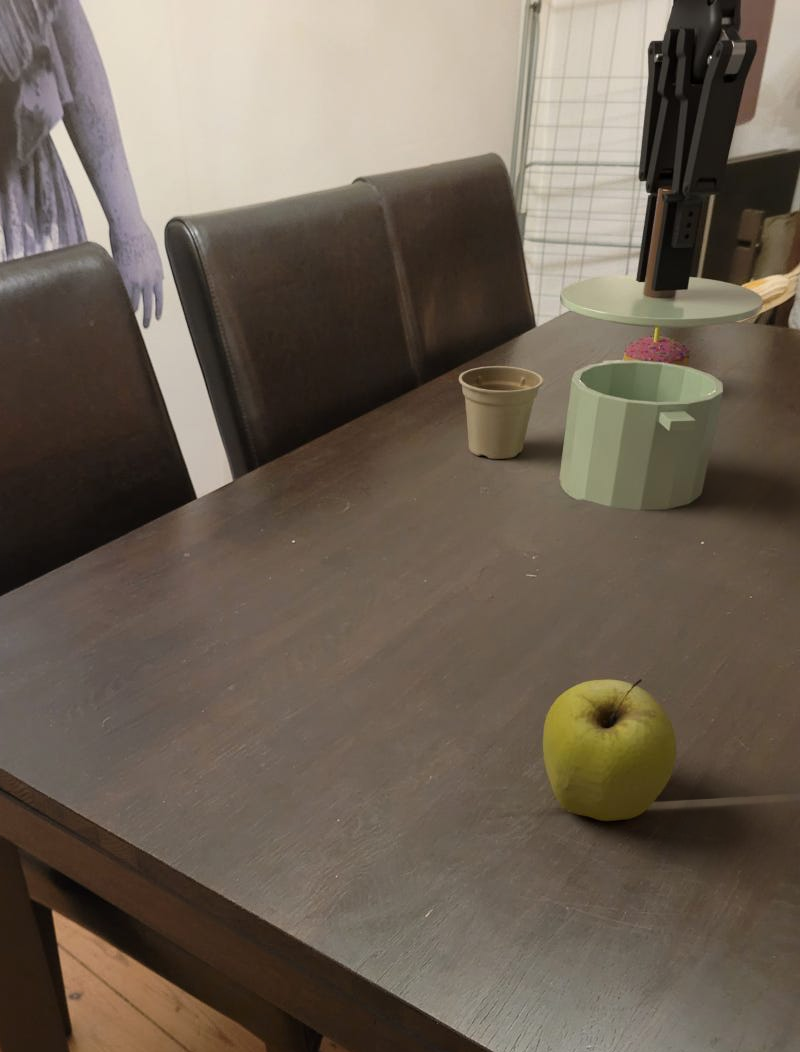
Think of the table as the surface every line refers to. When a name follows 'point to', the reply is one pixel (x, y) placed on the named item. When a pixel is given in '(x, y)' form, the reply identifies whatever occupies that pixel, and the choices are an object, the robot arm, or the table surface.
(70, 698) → the table surface
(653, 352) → the cupcake
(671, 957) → the table surface
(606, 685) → the apple
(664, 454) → the pot
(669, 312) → the pot lid
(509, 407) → the flower pot
